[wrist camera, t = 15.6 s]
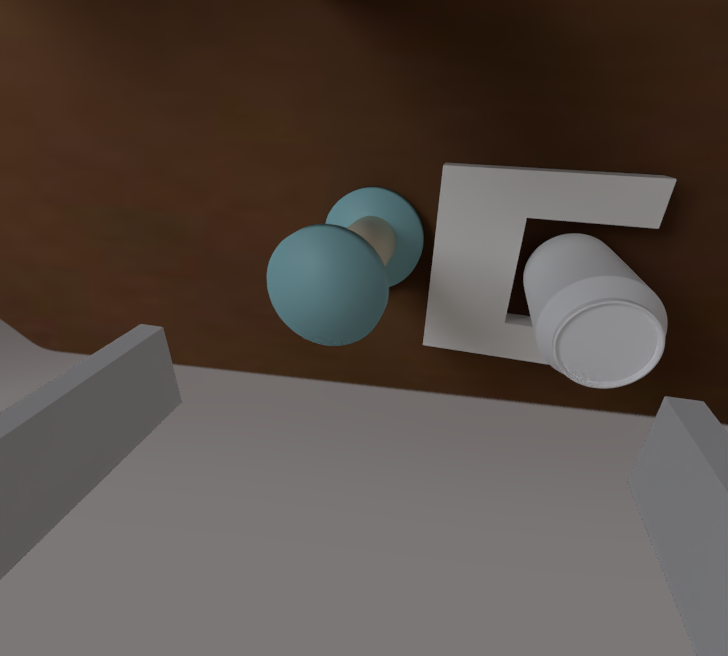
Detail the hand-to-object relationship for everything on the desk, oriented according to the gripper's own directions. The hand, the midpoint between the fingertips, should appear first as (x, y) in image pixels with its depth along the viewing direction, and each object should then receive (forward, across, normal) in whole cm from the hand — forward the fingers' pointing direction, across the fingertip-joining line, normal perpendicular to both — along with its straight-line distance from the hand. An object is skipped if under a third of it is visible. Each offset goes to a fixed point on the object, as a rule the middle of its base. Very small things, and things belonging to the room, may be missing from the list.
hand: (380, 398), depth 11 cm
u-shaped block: (+23, +7, -4) cm, 24 cm away
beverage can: (+23, +9, -4) cm, 25 cm away
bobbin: (+23, -5, -2) cm, 24 cm away
